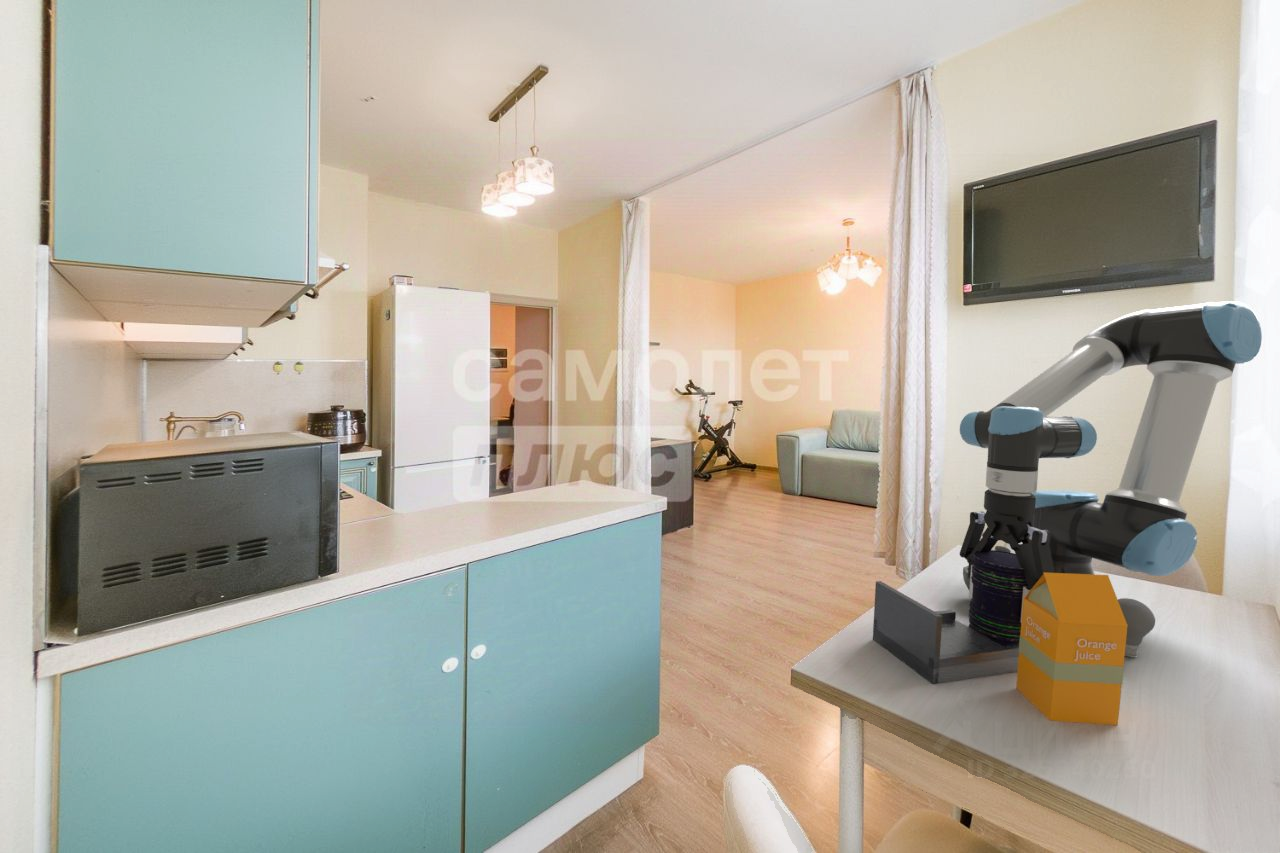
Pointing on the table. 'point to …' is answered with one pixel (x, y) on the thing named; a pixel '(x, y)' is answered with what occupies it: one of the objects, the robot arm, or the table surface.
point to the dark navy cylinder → (997, 596)
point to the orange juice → (1073, 648)
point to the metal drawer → (936, 640)
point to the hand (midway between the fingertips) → (1001, 609)
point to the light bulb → (1136, 623)
